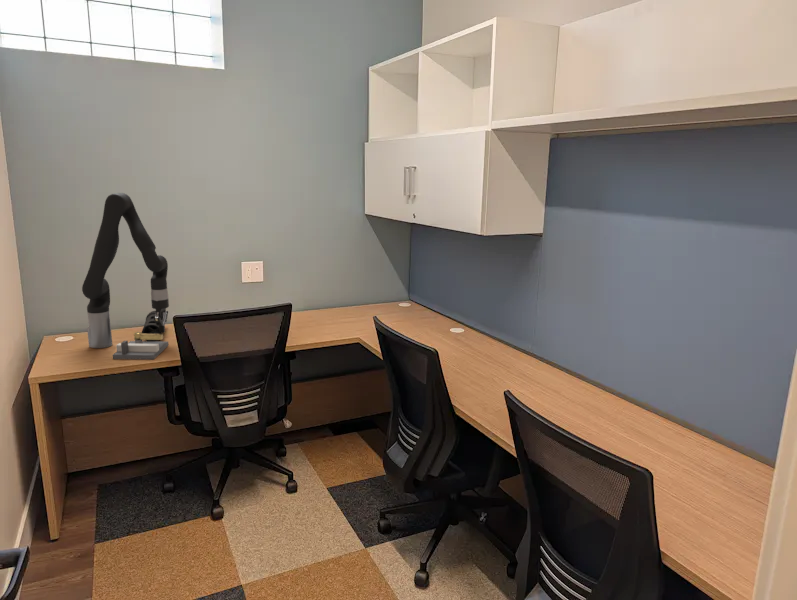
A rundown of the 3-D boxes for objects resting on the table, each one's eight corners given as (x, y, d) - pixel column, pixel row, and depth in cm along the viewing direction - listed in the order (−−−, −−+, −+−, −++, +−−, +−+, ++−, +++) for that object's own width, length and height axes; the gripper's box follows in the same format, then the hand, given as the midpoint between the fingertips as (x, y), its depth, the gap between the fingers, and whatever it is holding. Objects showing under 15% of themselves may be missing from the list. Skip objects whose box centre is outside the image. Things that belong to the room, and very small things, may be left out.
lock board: (112, 359, 254) (111, 343, 253) (130, 344, 274) (129, 330, 272) (153, 359, 256) (152, 343, 254) (168, 345, 275) (167, 330, 273)
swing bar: (133, 339, 264) (133, 334, 263) (136, 337, 267) (136, 332, 266) (161, 340, 265) (160, 334, 264) (163, 338, 268) (163, 332, 267)
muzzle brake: (141, 344, 275) (140, 324, 272) (147, 328, 301) (145, 310, 298) (162, 343, 278) (161, 323, 275) (166, 327, 304) (165, 309, 301)
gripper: (156, 294, 274) (159, 328, 278) (146, 301, 261) (149, 336, 265) (172, 294, 274) (174, 328, 278) (162, 301, 261) (165, 337, 265)
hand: (162, 332), depth 272 cm, fingers closed
